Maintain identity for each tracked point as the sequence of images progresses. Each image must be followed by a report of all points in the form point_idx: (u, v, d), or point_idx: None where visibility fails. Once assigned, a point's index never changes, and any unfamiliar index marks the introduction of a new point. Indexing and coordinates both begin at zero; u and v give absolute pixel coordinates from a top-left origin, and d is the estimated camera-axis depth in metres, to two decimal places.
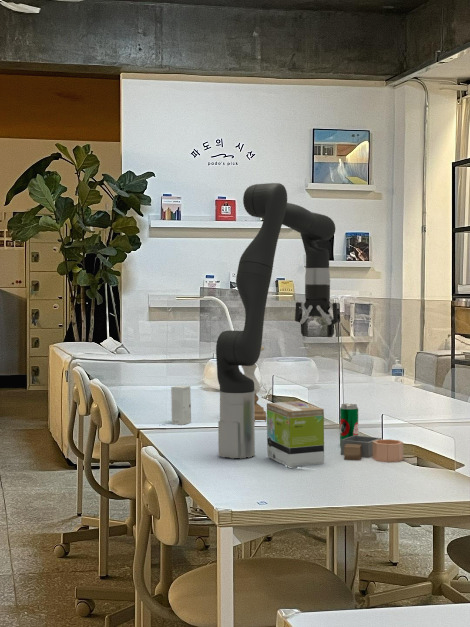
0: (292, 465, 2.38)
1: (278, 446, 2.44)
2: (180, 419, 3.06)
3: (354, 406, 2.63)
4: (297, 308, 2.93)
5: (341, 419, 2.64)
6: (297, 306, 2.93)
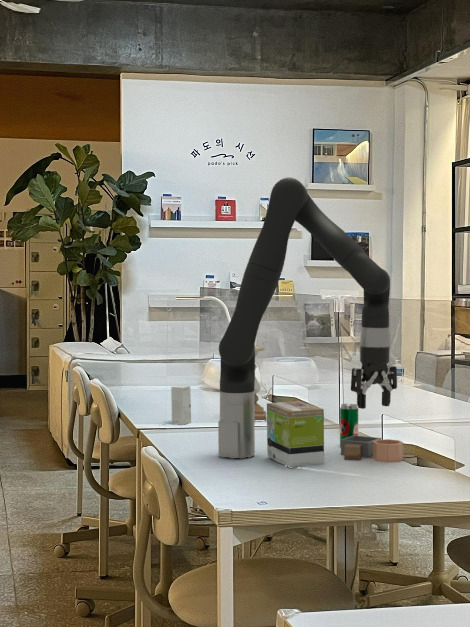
0: (292, 465, 2.38)
1: (278, 446, 2.44)
2: (180, 419, 3.06)
3: (354, 406, 2.63)
4: (359, 376, 2.44)
5: (341, 419, 2.64)
6: (359, 373, 2.44)
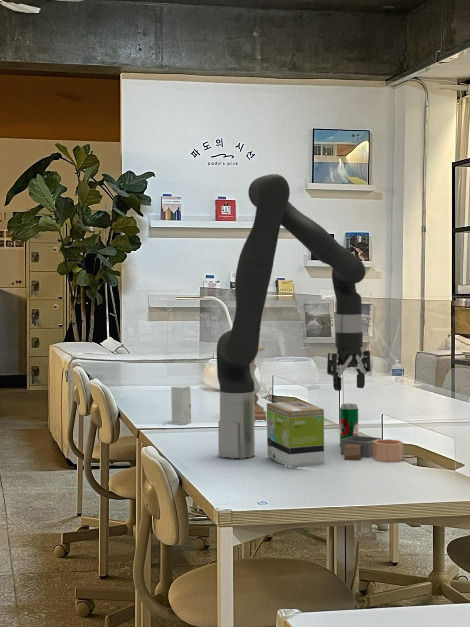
0: (292, 465, 2.38)
1: (278, 446, 2.44)
2: (180, 419, 3.06)
3: (354, 406, 2.63)
4: (335, 360, 2.60)
5: (341, 419, 2.64)
6: (335, 358, 2.60)
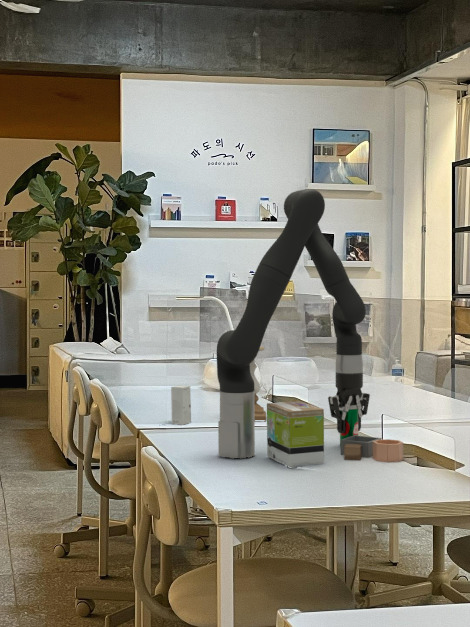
0: (292, 465, 2.38)
1: (278, 446, 2.44)
2: (180, 419, 3.06)
3: (354, 406, 2.63)
4: (336, 404, 2.60)
5: None
6: (336, 401, 2.60)
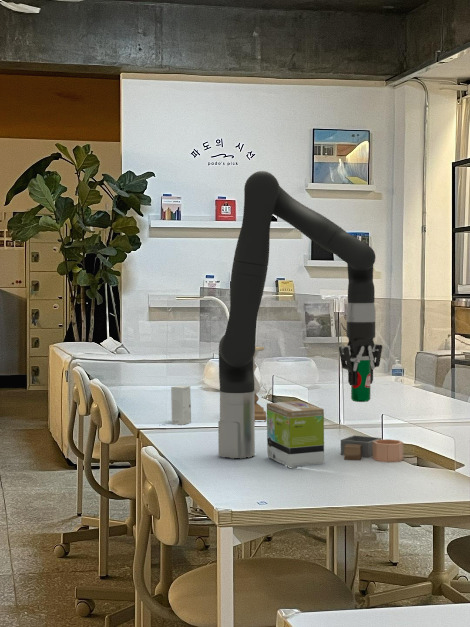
0: (292, 465, 2.38)
1: (278, 446, 2.44)
2: (180, 419, 3.06)
3: (366, 357, 2.51)
4: (348, 354, 2.48)
5: None
6: (347, 351, 2.48)
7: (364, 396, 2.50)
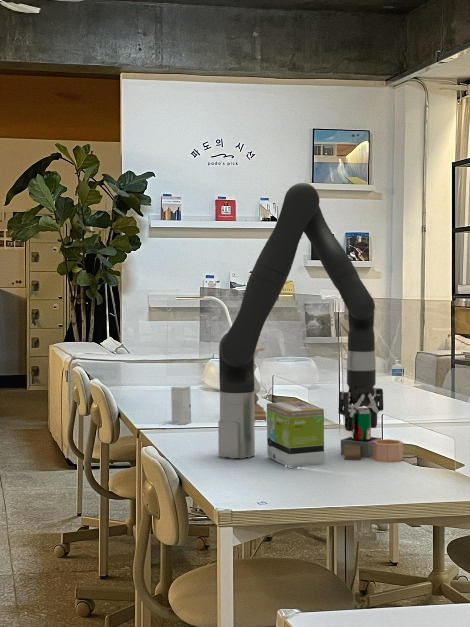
0: (292, 465, 2.38)
1: (278, 446, 2.44)
2: (180, 419, 3.06)
3: (367, 410, 2.51)
4: (347, 399, 2.48)
5: (353, 424, 2.52)
6: (347, 397, 2.48)
7: None
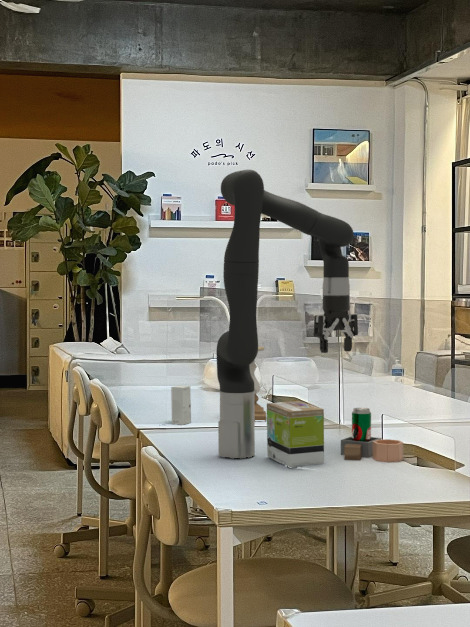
0: (292, 465, 2.38)
1: (278, 446, 2.44)
2: (180, 419, 3.06)
3: (367, 410, 2.51)
4: (321, 322, 2.62)
5: (353, 424, 2.52)
6: (321, 320, 2.62)
7: None
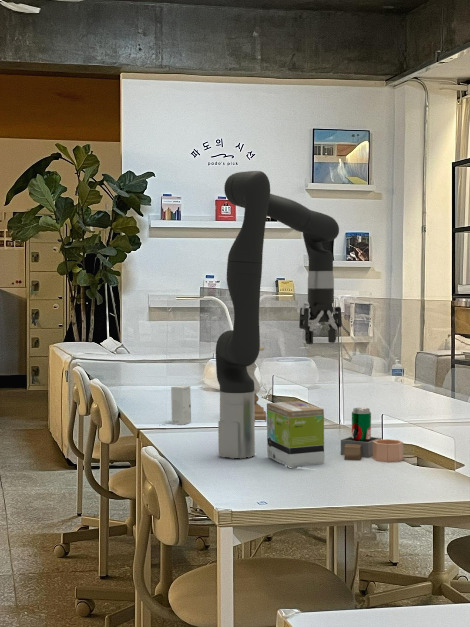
0: (292, 465, 2.38)
1: (278, 446, 2.44)
2: (180, 419, 3.06)
3: (367, 410, 2.51)
4: (307, 314, 2.71)
5: (353, 424, 2.52)
6: (307, 312, 2.71)
7: None
